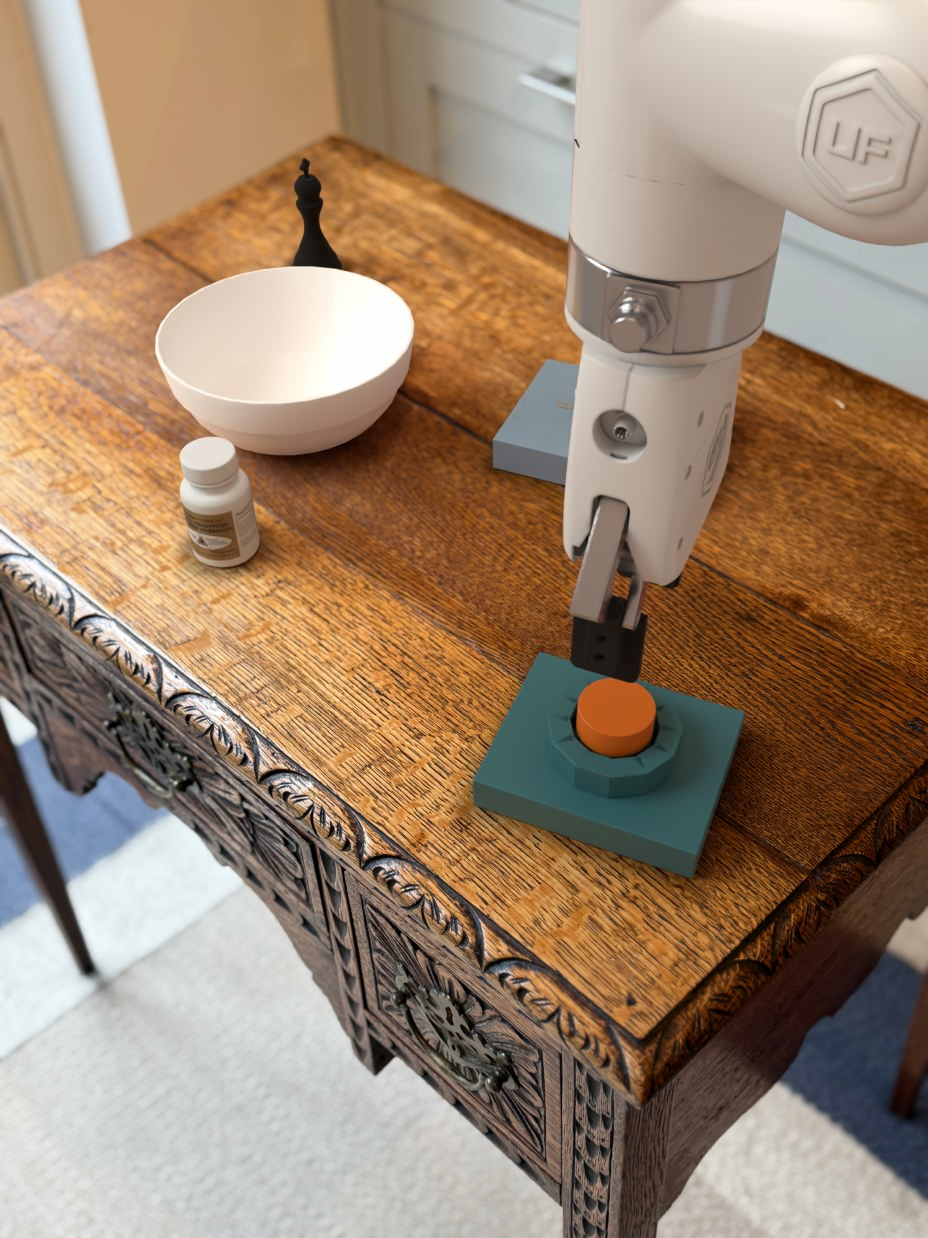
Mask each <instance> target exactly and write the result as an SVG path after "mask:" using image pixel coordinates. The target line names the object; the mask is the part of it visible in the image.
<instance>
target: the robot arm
mask: <svg viewBox="0 0 928 1238" xmlns="http://www.w3.org/2000/svg"><path fill="white" fill-rule="evenodd" d="M579 5H580V6H579V21H578V42H577V59H576V61H577V62H576V63H577V64H576V80H575V98H574V99H575V100H574V101H575V102H574V119H573V138H572V139H573V141H572V161H571V164H572V165H571V182H570V205H569V225H568V238H567V239H568V240H567V242H568V243H567V257H566V258H567V259H566V280H565V295H564V309H563V310H564V317H565V320H566V323H567V325H568V327H569V329H570V330H571V331H572V332H573V334H574V335H575V336H576V337H577V338H578V339H580V341H582V348H581V355H580V361H579V366H580V367H579V374H578V381H577V387H576V389H575V403H574V411H573V418H572V426H571V435H570V444H569V453H568V463H567V473H566V484H565V485H564V486H565V487H564V495H563V496H564V499H563V512H562V513H563V515H562V516H563V517H562V520H563V521H562V540H563V541H562V542H563V548H564V551H565V553H566V555H567V557H568V558H569V559H570V561H571V562H573V563H576V562H577V561H579V559H581V564H580V568H579V571H578V575H577V580H576V583H575V586H574V590H573V594H572V597H571V601H570V604H569V605H570V606H569V613H568V614H569V615H570V616H572V617H573V618H572V631H571V644H570V659H569V660H570V661H571V663H572V664H573V665H574V666H575V667H577V668H580V669H583V670H587V671H590V672H594V673H597V674H600V675H604V676H607V677H611V678H614V679H617V680H621V681H624V682H628V683H635V682H636V681H637V679H638V680H639V677H640V674H641V671H642V665H643V657H644V651H645V650H644V649H645V642H646V635H647V627H648V621H649V614H645V613H644V612H642V611H643V606H644V602H645V597H646V592H647V587H648V584H651V585H654V586H657V587H662V588H666V589H670V590H671V589H672V590H673V589H675V588H677V587H678V586H679V585H680V582H681V580H682V576H683V571H684V568H685V566H686V564H687V561H688V560H689V557H690V555H691V553H692V551H693V549H694V546H695V544H696V542H697V539H698V538H699V535H700V533H701V531H702V529H703V526H704V523H705V521H706V519H707V518H708V517H707V516H708V515H709V512H710V509H711V507H712V505H713V502H714V500H715V498H716V495H717V493H718V490H719V488H720V486H721V483H722V481H723V478H724V475H725V472H726V469H727V465H728V461H729V456H730V450H731V444H732V443H731V442H732V435H733V428H734V419H735V411H736V404H737V397H738V396H737V395H738V389H739V382H740V381H739V380H740V374H741V367H742V360H743V359H742V357H743V352H744V351H746V349H749V348H751V347H752V346H753V345H754V344H755V343H756V342H757V341H758V339H759V338H760V337H761V336H762V333H763V332H764V328H765V324H766V318H767V312H768V308H769V303H770V297H771V292H772V287H773V282H774V277H775V270H776V266H777V261H778V255H779V251H780V244H781V238H782V233H783V227H784V223H785V217H786V212H787V211H788V212H790V213H792V214H793V215H796V216H798V217H799V218H801V219H803V220H805V221H806V222H809V223H811V224H813V225H815V226H817V227H819V228H821V229H823V230H826V231H829V232H830V233H833V234H835V235H838V236H840V237H842V238H847V239H849V240H852V241H857V242H860V243H865V244H868V245H874V246H875V245H876V246H884V247H885V246H887V247H888V246H889V247H907V246H914V245H921V244H925V243H928V0H580V4H579ZM616 574H618V575H619V576H621V577H624V578H628V579H630V584H629V590H628V593H627V598H624V597H621V596H617V595H614V594H613V585H614V582H615V578H616Z"/></svg>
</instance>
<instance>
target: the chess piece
mask: <svg viewBox="0 0 928 1238" xmlns="http://www.w3.org/2000/svg"><path fill="white" fill-rule="evenodd" d="M310 165H311V161H310V160H309V159H307V158H306V157H303V158H302V159H301V163H300V165H299V167H298V169H299V171H301V172H303V174H300V175H298V177H297V179H296V180H295V182H294V184H293V191H294V193H295V194H296V196H297V199H295V206H296V209H297V210H298V212H299V214H300V215H301V217H302V220H303V233H302V237H301V240H300V242H299V246H298V249H297V251H296V253H295V255H294V257H293V262H292V264H291V267H321V268H331V269H338V270H343V269H342V268H343V264H342V261H341V260H340V259H339V257H338V254H337V253H336V251H335V250H334V249H333V247H332V246H331V244H330V242H329V241H328V239H327V237H326V236H325V235H324V232H323V230H322V228H321V223H320V218H321V217H320V216H321V212H322V210H323V207H324V199H323V198H322V197H321V192H322V183H321V181H320V180H319V178H318V177H316V176H315V175H314V174H312V173H309V171H310V170H309V169H310Z"/></svg>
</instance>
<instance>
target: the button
mask: <svg viewBox="0 0 928 1238" xmlns="http://www.w3.org/2000/svg"><path fill="white" fill-rule="evenodd" d="M655 716H656V705H655V702H654V699H653V697H652V696H651V694H650V693H649V692H648V691H647V690H646V689H645V688H644V687H642V686H641V685H639V684H638V683H628V682H624V681H621V680H617V679H614V678H606V679H601V680H598V681H595V682H594V683H592V684H590V685H589V686H587V687H586V688H585V689H584V691H583V692H582V693H581V695H580V697H579V700H578V709H577V721H576V729H577V733H578V735H579V737H580V739H581V741H582V742H583V743H584V744H585V745H586V746H587V747H588V748H589V749H591V750H592V751H594V752H596V753H598V754H601V755H604V756H608V757H627V756H631V755H634V754H636V753H638V752H640V751H641V750H643V749H644V748H645V747H646V746H647V745H648V743H649V742H650V740H651V738H652V735H653V729H654V722H655Z"/></svg>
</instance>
